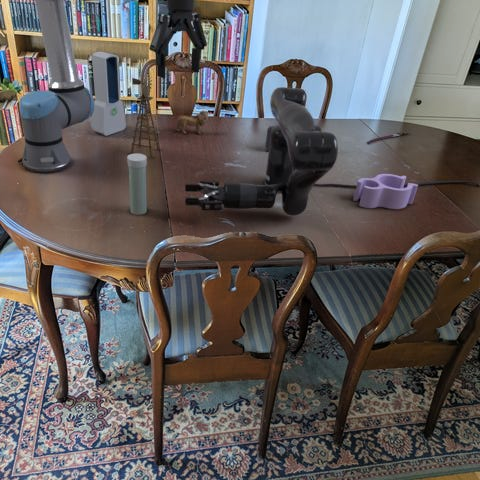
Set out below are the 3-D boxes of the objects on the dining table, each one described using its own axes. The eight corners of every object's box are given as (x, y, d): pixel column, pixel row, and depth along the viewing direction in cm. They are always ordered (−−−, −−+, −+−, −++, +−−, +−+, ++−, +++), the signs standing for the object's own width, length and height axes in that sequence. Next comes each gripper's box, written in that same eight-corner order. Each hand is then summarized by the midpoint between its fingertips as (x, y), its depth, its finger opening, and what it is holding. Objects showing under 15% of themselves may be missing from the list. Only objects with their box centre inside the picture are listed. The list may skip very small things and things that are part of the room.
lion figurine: (205, 129, 202) (206, 108, 197) (209, 133, 198) (210, 112, 193) (172, 130, 197) (172, 109, 192) (175, 135, 193) (175, 113, 188)
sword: (405, 131, 223) (406, 129, 223) (410, 133, 221) (411, 131, 221) (362, 143, 208) (363, 140, 207) (367, 145, 206) (368, 143, 205)
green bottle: (142, 216, 137) (141, 163, 128) (128, 213, 137) (125, 160, 128) (148, 208, 140) (148, 157, 131) (134, 206, 141) (132, 154, 132)
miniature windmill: (151, 157, 172) (150, 74, 155) (129, 154, 173) (126, 70, 156) (160, 149, 179) (159, 68, 163) (139, 145, 180) (137, 64, 164)
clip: (366, 212, 151) (371, 193, 147) (347, 194, 161) (351, 176, 157) (417, 207, 158) (423, 188, 154) (395, 190, 167) (401, 172, 163)
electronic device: (104, 136, 184) (98, 57, 168) (90, 131, 187) (84, 53, 171) (126, 129, 193) (123, 53, 177) (113, 124, 196) (109, 49, 180)
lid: (142, 169, 128) (142, 162, 127) (124, 166, 129) (123, 159, 128) (149, 162, 133) (149, 155, 131) (132, 159, 133) (131, 152, 132)
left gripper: (154, -4, 116) (154, 82, 128) (222, -5, 133) (216, 72, 144) (135, -9, 120) (137, 76, 132) (203, -9, 137) (199, 66, 148)
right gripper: (238, 174, 143) (185, 172, 141) (243, 196, 131) (185, 194, 129) (236, 195, 147) (184, 194, 145) (241, 219, 135) (185, 217, 133)
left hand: (178, 74), depth 138 cm, fingers open, 13 cm apart
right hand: (185, 194), depth 137 cm, fingers open, 8 cm apart
